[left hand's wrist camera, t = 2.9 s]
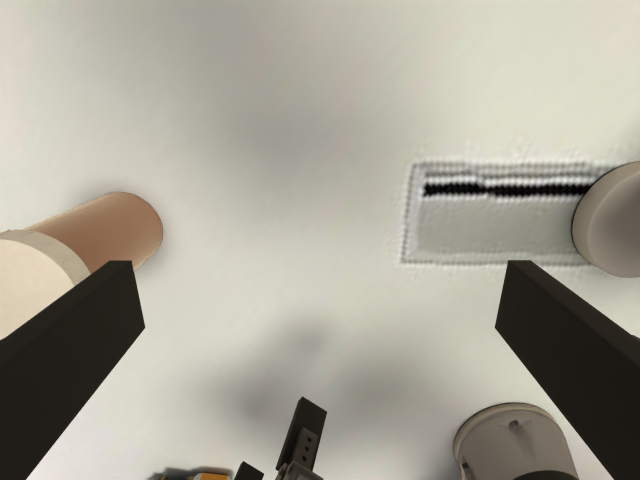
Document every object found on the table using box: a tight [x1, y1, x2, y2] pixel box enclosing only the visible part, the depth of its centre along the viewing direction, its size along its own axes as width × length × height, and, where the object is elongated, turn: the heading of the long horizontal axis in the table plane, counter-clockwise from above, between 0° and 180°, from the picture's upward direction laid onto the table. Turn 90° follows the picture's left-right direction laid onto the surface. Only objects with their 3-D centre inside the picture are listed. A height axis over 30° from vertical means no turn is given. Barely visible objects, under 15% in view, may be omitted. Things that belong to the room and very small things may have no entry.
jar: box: [22, 192, 163, 274], centre depth 34 cm, size 8×8×16 cm
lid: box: [0, 230, 91, 340], centre depth 27 cm, size 9×9×2 cm
